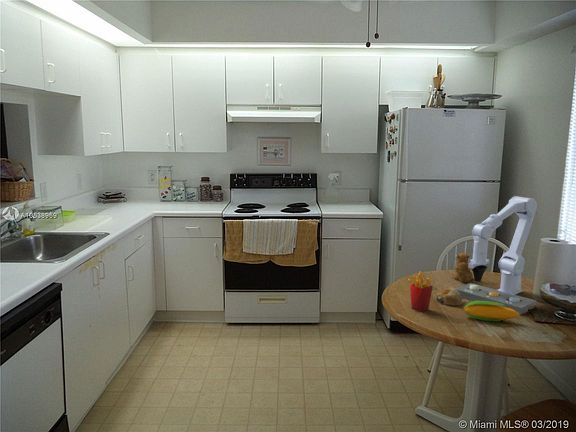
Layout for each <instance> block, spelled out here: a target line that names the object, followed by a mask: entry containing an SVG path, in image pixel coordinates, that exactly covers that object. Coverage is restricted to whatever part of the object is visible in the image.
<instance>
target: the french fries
mask: <svg viewBox="0 0 576 432" xmlns="http://www.w3.org/2000/svg"><path fill="white" fill-rule="evenodd" d="M418 272H419V273H418V274H417V273H415V274H413V278H414V279H412V278H408V279H407V280H408V282H410V283H411V284H410V287H409V288H410V302H411V304H410V305H411V306H410V307H411V309H413V310H415V309H416V310H415V311H418V312H425V311H426V310H429V309H430V303H431V299H432V293H433V287H434V286H432V285H431V284H430V283H431V282H433V281H434V278H433V277H432V278H429V277H426V282H425V278H424V275H423V272H422V271H418Z"/></svg>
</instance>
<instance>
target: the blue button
mask: <svg viewBox="0 0 576 432" xmlns="http://www.w3.org/2000/svg"><path fill="white" fill-rule="evenodd" d="M509 301H512V302H516V303H518V302H520V299H519V298H516V297H510V298H509Z"/></svg>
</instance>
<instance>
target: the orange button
mask: <svg viewBox="0 0 576 432" xmlns="http://www.w3.org/2000/svg"><path fill="white" fill-rule="evenodd" d="M489 295H491V296H494V297H497V296H499V293H497V292H489Z"/></svg>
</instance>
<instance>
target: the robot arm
mask: <svg viewBox="0 0 576 432" xmlns="http://www.w3.org/2000/svg"><path fill="white" fill-rule="evenodd" d="M537 209H538V202H537V200H536V199H535V198H533V197H524V196H523V197H522V196H517V195H514V196H512V197H511V198H510V199H509V200H508V203H507V204H506V205H505V206H504V207H503V208H502V209H501V210H500V211H499V212H497V213H496V214H495V213H492V214H490V215H489V216H488V217H487V218H486V219H485V220H484V221H482V222H481V223H477V224H475V225H474V226H473V228H472V230H471V234H472V238H473V251H472V259H471V258H470V259H469V262H468V265H469V266H468V268H470V270H471V272H472V274H473V279H474V282H477V283H481V281H482V279H483V275H484V274H485V272H486V271H487V269H488V266H487V264H490V261H491V260H490V259H489V258H487V257H488V249H489V248H488V247H489V239H490V238H491V237H492V235H493V233H494V231H495V230H496V229H498V228H499V227H501V226H502V224H503V221H504V220H505V219H507V218H508V217H509V216H511V215H512V214H514V213H515V214H516V215H517V216H518V218H519V219H518V223H517V226H516V228H515V232H514V235H513V238H512V240H511V243H510V245H509V249H508V250H507V251H506V252H504V253H503V254H502V256H501V258H499V261H498V263H497V264H498V269H499V270H500V272H501V276H500V277H501V278H500V287H499V288H498V289H497V290H498V291H502V292H506V293H510V294H513V295H518V294H520V293H522V292H523V290H522V279H523V278H522V275H521V274H522V273H523V272H524V269H525V262H526V259H525V258H524V257H523V255H522V254H523V251H524V249H525V245H526V243H527V238H528V237H529V233H530V230H531V227H532V223H533V221H534V218H535V215H536V211H537Z"/></svg>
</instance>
